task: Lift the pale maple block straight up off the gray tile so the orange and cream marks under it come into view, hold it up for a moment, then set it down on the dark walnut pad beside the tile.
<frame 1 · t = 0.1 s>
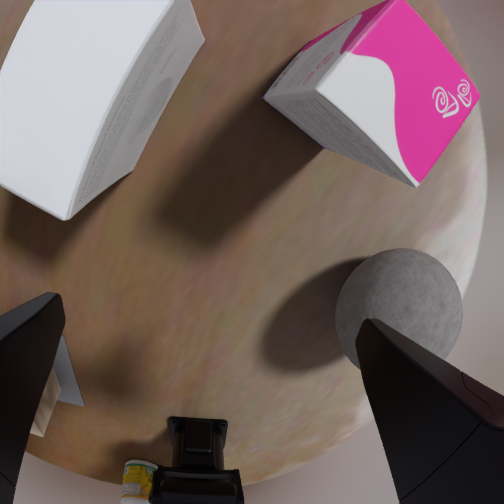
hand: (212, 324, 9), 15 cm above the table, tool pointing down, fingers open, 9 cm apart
skincare box: (126, 87, 18), on the table
gray tile: (32, 365, 27), on the table
decorative ball: (372, 281, 27), on the table
maple block: (32, 366, 27), resting on gray tile
supplement bottle: (143, 465, 37), on the table
supplement box: (319, 93, 20), on the table
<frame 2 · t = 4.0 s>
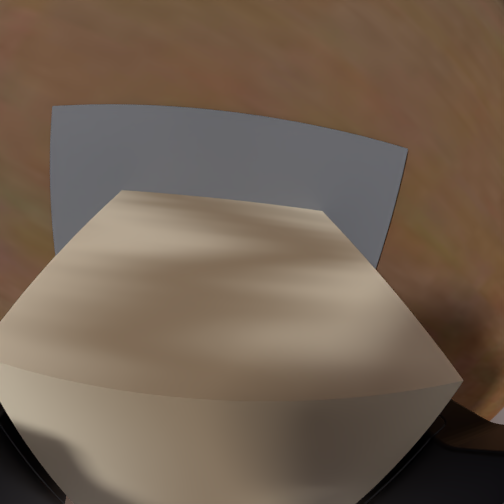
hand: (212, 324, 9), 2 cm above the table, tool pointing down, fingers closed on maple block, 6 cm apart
gray tile: (213, 286, 11), on the table
maple block: (213, 288, 10), resting on gray tile, touching gripper
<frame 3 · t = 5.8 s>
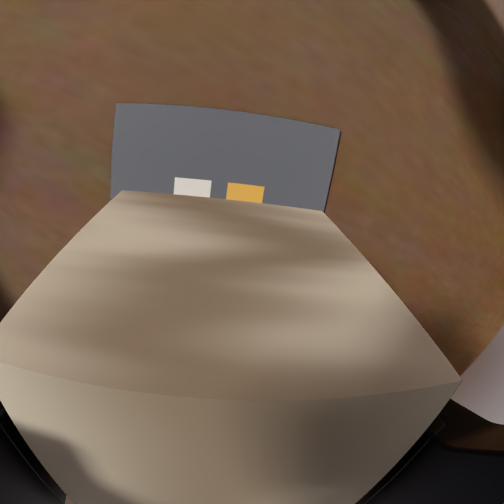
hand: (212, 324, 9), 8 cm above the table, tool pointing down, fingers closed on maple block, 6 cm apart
gray tile: (215, 219, 16), on the table
maple block: (212, 288, 10), point 7 cm above the table, touching gripper
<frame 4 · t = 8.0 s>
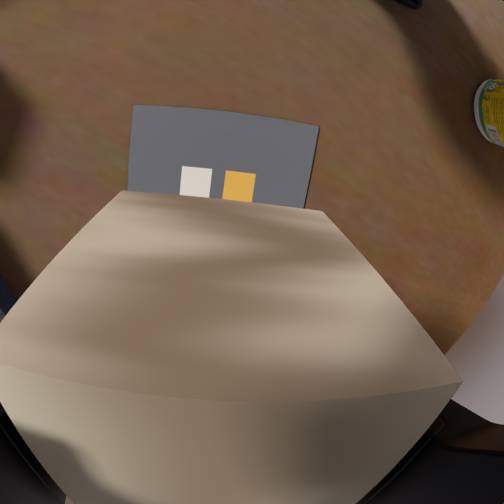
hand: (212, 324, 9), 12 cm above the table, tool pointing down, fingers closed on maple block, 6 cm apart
gray tile: (215, 201, 19), on the table
maple block: (212, 288, 10), point 10 cm above the table, touching gripper
supplement bottle: (491, 110, 18), on the table
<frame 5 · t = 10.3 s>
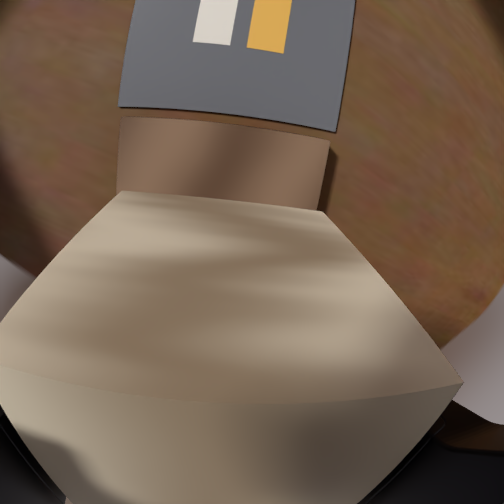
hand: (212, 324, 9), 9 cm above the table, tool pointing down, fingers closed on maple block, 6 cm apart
gray tile: (244, 11, 12), on the table
maple block: (212, 289, 10), point 7 cm above the table, touching gripper
walnut pad: (214, 219, 17), on the table
when the fingers open (4 cm above the table, at t = 12.1 s): maple block drops 1 cm, resting on walnut pad.
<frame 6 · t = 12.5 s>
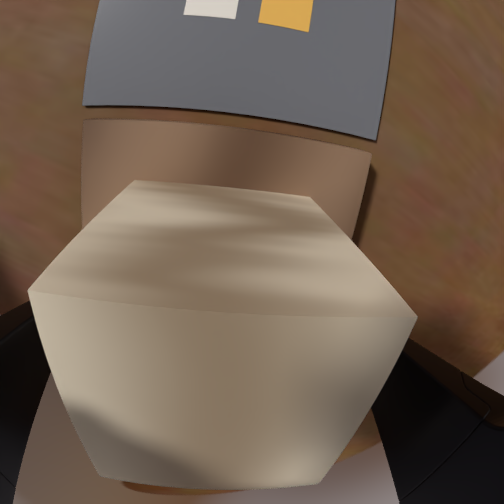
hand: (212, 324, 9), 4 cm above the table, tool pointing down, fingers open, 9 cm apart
maple block: (214, 267, 12), point 1 cm above the table, touching walnut pad
walnut pad: (213, 256, 13), on the table
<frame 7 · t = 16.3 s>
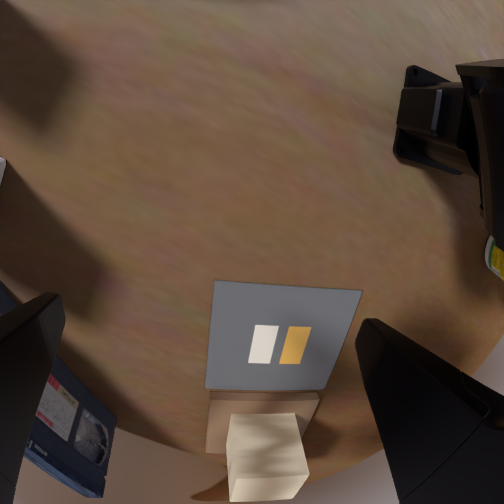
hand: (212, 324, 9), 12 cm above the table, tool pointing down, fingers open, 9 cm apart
gray tile: (278, 345, 25), on the table
vhs cassette tape: (53, 359, 24), on the table
maple block: (258, 430, 28), point 1 cm above the table, touching walnut pad
supplement bottle: (499, 243, 24), on the table
walnut pad: (257, 423, 29), on the table
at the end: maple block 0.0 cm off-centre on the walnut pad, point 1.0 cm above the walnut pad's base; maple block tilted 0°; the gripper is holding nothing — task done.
